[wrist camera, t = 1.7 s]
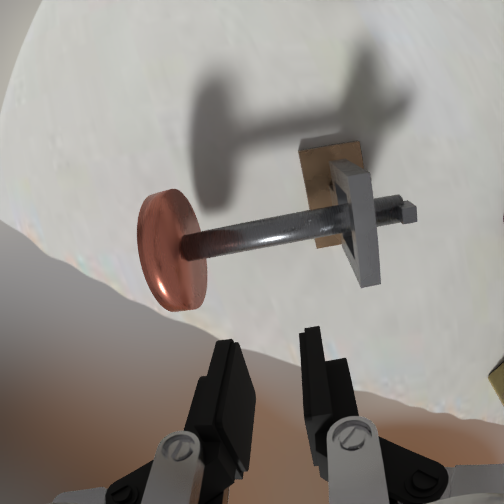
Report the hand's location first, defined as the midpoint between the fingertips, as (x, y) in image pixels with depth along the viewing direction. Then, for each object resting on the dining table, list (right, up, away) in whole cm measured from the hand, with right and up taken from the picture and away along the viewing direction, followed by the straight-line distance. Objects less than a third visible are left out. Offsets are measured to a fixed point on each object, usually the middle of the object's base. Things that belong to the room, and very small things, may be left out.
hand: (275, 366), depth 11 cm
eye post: (+8, +10, +20) cm, 24 cm away
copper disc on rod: (+2, +8, +19) cm, 20 cm away
